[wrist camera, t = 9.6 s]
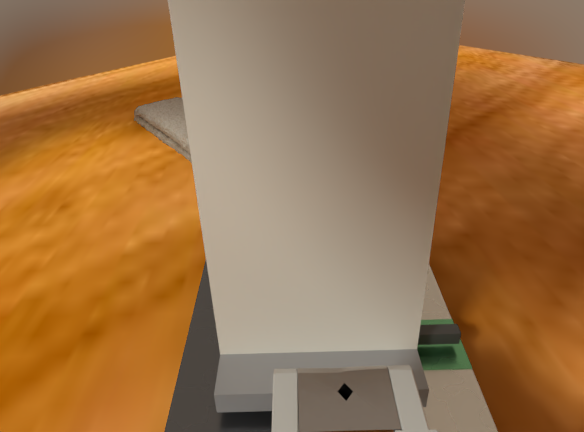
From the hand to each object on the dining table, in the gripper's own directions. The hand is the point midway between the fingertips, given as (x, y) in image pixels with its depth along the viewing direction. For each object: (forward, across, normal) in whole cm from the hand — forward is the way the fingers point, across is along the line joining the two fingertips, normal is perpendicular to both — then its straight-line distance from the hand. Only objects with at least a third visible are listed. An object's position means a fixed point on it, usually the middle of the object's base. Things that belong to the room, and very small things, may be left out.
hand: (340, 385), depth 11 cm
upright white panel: (+9, -1, +7) cm, 11 cm away
